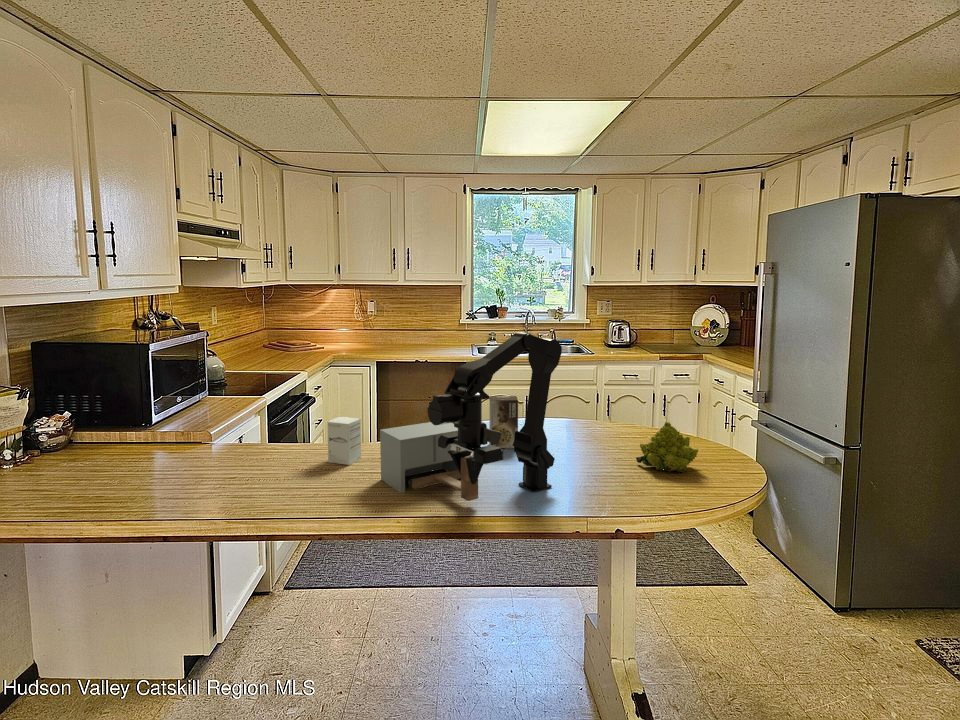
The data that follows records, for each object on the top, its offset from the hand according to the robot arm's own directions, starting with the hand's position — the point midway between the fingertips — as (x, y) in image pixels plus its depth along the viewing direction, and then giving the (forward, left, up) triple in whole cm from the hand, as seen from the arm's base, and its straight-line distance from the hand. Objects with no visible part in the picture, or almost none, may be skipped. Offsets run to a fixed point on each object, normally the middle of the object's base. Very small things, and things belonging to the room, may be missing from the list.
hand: (469, 481), depth 149 cm
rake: (+7, 0, -4) cm, 8 cm away
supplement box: (+50, +12, -6) cm, 52 cm away
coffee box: (+37, -37, -6) cm, 53 cm away
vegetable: (-8, -64, -6) cm, 65 cm away
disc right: (+19, -4, -6) cm, 21 cm away
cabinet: (+23, 0, -6) cm, 24 cm away
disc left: (+19, +4, -6) cm, 21 cm away
